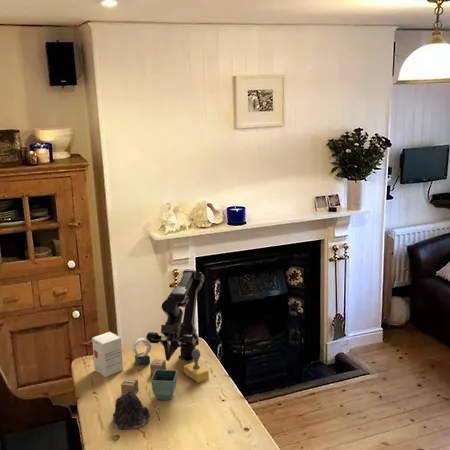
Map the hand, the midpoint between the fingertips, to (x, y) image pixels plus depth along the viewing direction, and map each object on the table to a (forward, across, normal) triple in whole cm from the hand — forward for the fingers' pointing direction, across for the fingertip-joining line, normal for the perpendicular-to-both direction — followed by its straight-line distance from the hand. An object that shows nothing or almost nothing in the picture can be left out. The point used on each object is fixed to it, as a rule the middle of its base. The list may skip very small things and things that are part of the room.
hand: (167, 360), depth 221 cm
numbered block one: (+12, -14, +5) cm, 20 cm away
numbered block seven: (+1, -8, +18) cm, 20 cm away
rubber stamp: (+1, +8, +18) cm, 20 cm away
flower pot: (+13, 0, +5) cm, 14 cm away
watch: (-5, -18, +24) cm, 30 cm away
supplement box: (+1, -30, +17) cm, 34 cm away
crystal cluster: (+25, -7, -7) cm, 27 cm away
